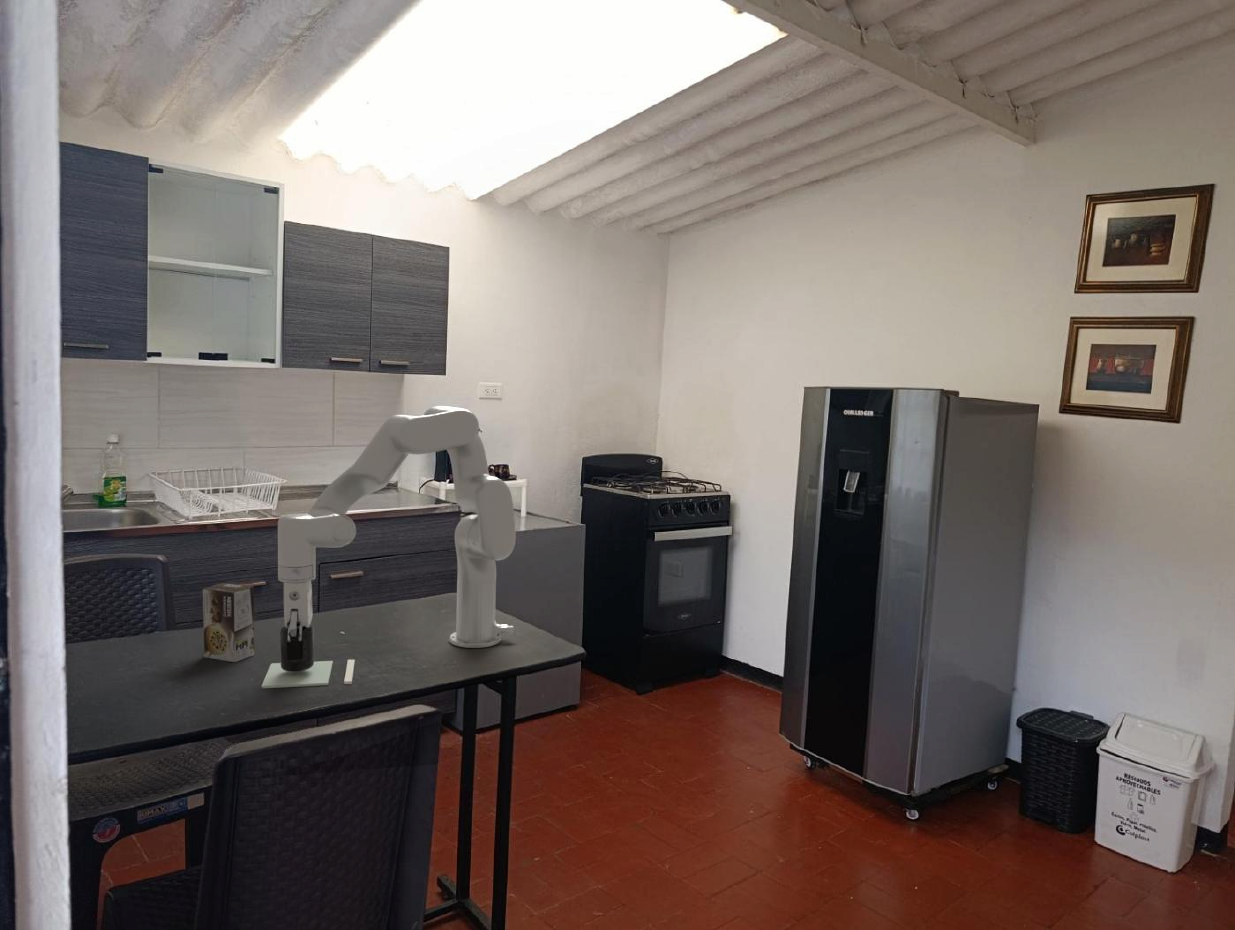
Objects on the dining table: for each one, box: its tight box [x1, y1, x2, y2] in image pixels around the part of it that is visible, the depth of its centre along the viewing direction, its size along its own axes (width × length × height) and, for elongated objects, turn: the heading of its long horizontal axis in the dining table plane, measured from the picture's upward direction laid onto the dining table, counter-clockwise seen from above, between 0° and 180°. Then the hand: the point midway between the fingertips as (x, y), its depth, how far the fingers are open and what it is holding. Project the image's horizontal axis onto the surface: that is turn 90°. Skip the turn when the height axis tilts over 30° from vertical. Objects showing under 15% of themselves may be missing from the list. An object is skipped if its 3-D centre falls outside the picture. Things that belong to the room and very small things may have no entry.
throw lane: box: [261, 659, 356, 689], centre depth 184 cm, size 18×14×1 cm
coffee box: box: [202, 582, 255, 663], centre depth 192 cm, size 9×6×16 cm
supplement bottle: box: [279, 622, 315, 672], centre depth 182 cm, size 7×7×12 cm
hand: (297, 652), depth 183 cm, fingers closed on supplement bottle, 6 cm apart
